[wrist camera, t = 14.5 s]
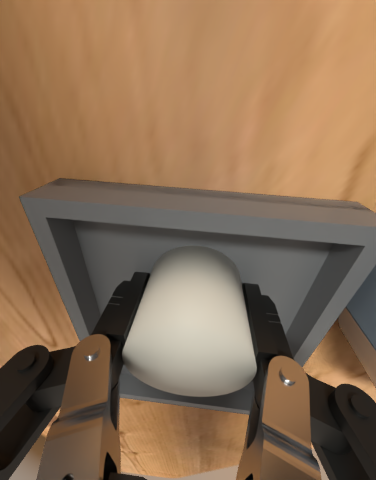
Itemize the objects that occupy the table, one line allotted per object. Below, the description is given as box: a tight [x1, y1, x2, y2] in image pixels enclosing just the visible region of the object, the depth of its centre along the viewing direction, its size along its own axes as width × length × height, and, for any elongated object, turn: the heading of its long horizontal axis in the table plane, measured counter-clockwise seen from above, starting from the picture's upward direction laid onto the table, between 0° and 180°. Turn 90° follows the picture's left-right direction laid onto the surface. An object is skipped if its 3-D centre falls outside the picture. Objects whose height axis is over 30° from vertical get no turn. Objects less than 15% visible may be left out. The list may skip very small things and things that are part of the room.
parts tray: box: [19, 178, 376, 415], centre depth 13 cm, size 14×18×2 cm
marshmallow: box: [122, 245, 257, 397], centre depth 9 cm, size 5×5×4 cm
